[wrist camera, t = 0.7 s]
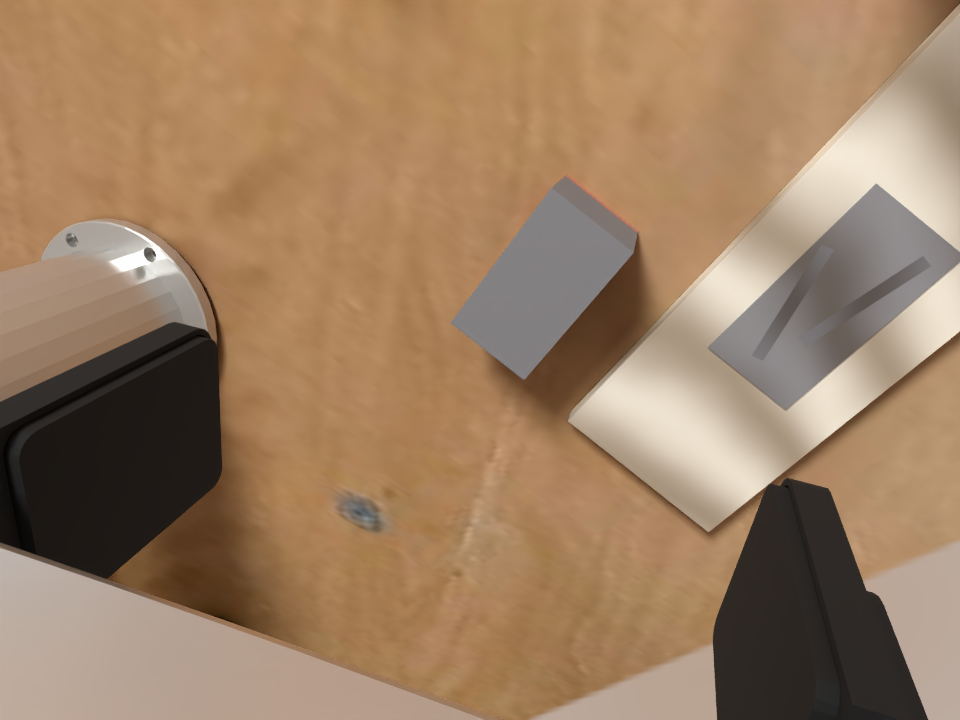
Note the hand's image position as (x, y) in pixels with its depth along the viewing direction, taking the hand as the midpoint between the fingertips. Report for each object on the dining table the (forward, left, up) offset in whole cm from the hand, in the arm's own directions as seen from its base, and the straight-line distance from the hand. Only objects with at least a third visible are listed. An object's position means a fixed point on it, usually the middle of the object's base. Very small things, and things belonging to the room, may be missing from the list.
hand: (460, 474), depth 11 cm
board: (+4, -11, -25) cm, 27 cm away
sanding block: (-3, 0, -25) cm, 25 cm away
